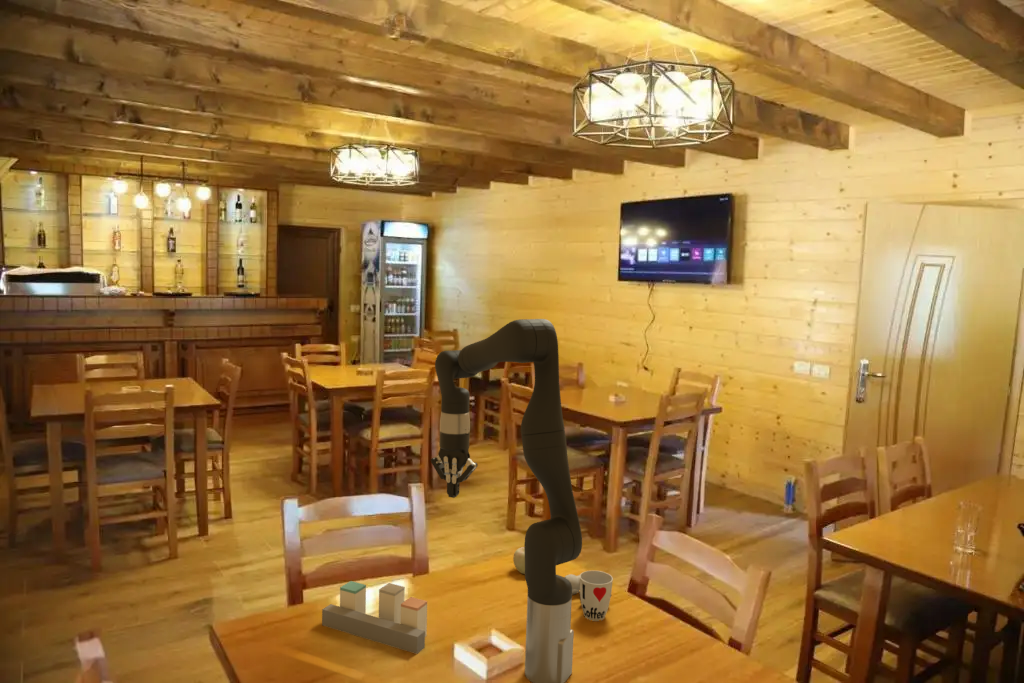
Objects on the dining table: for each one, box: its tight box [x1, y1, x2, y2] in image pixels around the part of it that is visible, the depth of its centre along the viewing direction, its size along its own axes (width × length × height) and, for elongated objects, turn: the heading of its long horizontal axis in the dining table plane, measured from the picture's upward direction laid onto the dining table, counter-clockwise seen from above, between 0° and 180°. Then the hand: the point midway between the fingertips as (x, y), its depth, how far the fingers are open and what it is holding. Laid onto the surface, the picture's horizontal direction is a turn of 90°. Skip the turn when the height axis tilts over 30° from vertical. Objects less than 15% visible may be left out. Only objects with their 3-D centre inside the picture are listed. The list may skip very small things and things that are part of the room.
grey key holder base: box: [321, 603, 426, 655], centre depth 165 cm, size 26×16×5 cm, turn 65°
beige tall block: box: [378, 582, 406, 624], centre depth 166 cm, size 4×4×8 cm
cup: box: [579, 570, 614, 622], centre depth 174 cm, size 8×8×10 cm
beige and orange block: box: [400, 596, 428, 638], centre depth 159 cm, size 4×4×8 cm
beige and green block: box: [339, 580, 367, 614], centre depth 166 cm, size 4×4×8 cm
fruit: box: [512, 546, 525, 575], centre depth 199 cm, size 8×7×8 cm
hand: (453, 496), depth 179 cm, fingers closed
